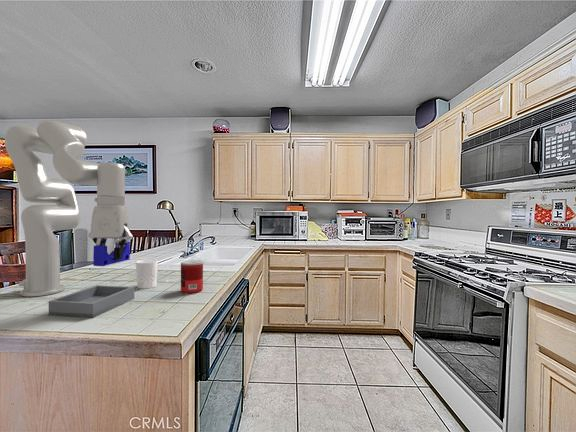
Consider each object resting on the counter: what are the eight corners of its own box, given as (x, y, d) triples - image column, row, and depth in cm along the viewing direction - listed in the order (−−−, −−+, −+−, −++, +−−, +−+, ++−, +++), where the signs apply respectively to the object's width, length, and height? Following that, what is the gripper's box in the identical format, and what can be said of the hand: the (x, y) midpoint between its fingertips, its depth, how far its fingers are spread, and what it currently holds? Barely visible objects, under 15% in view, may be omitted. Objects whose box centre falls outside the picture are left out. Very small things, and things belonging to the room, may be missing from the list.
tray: (48, 315, 85) (48, 301, 85) (96, 296, 102) (96, 285, 102) (93, 317, 83) (93, 303, 83) (134, 298, 101) (134, 286, 101)
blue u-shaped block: (117, 258, 101) (118, 241, 101) (129, 259, 100) (130, 241, 100) (88, 265, 89) (89, 245, 89) (102, 266, 88) (102, 246, 88)
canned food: (207, 289, 113) (207, 260, 112) (192, 295, 105) (192, 264, 105) (191, 287, 116) (191, 259, 116) (176, 292, 109) (176, 262, 108)
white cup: (162, 285, 117) (162, 260, 117) (143, 290, 111) (143, 263, 111) (150, 283, 122) (150, 258, 121) (131, 287, 115) (131, 261, 115)
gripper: (76, 201, 91) (76, 260, 91) (128, 202, 89) (127, 262, 90) (95, 201, 98) (94, 256, 99) (143, 203, 97) (142, 258, 97)
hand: (110, 258), depth 94 cm, fingers closed on blue u-shaped block, 4 cm apart
